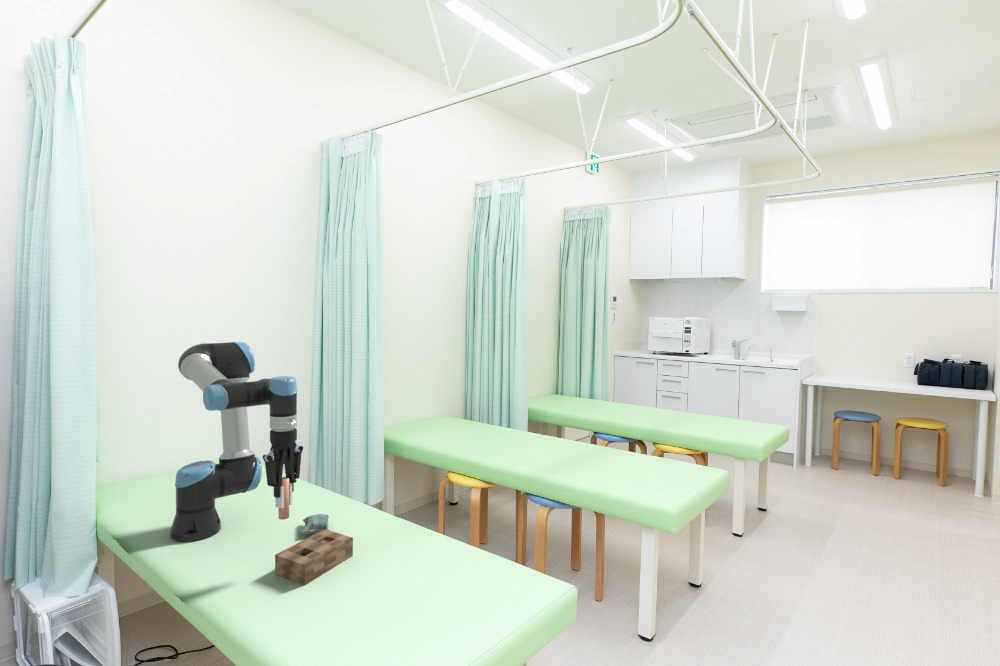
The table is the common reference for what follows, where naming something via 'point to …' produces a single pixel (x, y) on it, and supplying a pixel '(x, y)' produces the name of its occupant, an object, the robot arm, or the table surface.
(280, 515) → the dowel
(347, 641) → the table surface
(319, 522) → the packaged food
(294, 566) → the bore block
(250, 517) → the table surface
